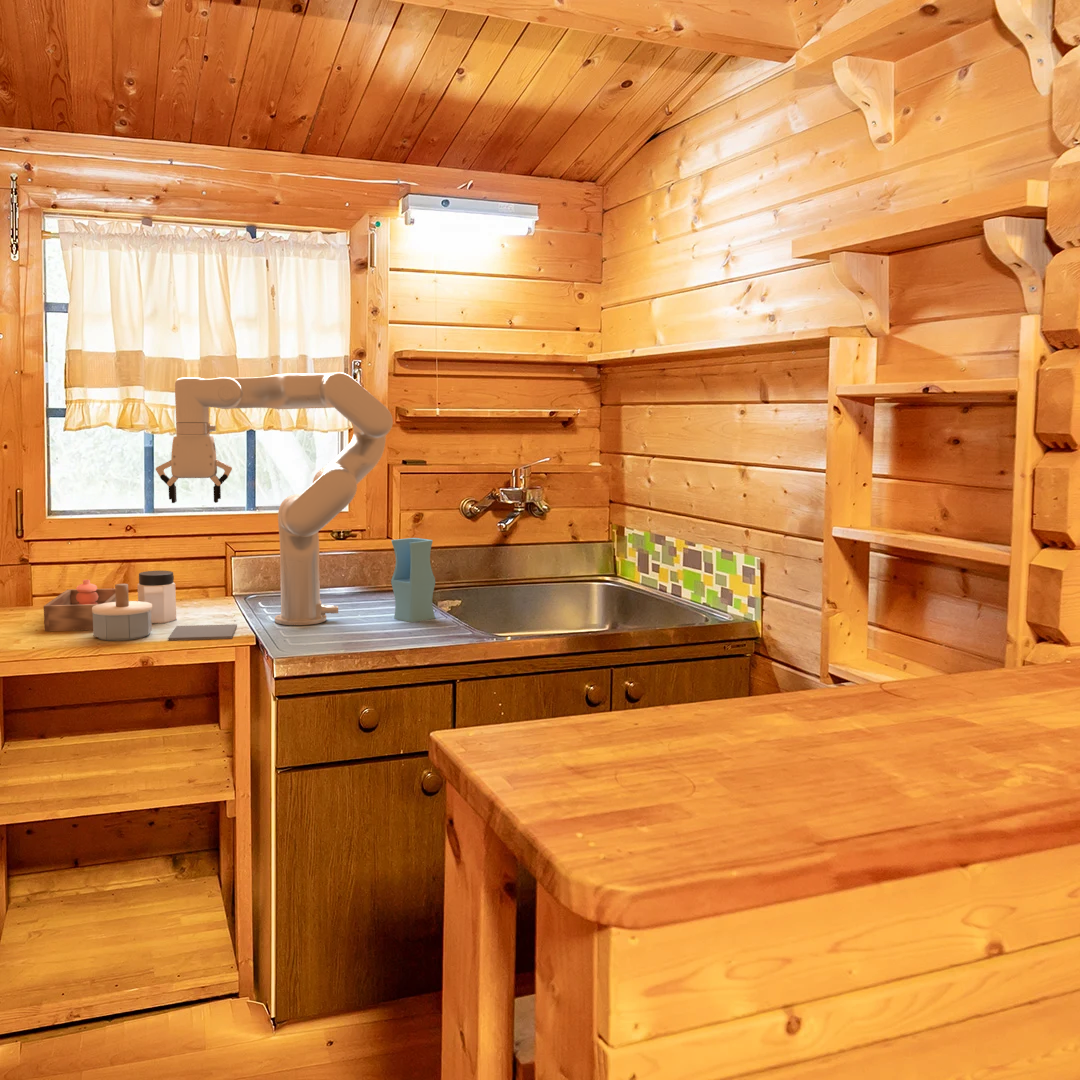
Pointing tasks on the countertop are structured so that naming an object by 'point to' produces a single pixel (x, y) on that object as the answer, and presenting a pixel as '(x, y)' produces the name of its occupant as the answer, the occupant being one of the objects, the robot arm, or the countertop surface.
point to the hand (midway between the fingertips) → (195, 502)
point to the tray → (73, 611)
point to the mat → (203, 632)
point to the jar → (158, 594)
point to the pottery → (86, 593)
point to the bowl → (122, 626)
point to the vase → (413, 580)
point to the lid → (121, 604)
